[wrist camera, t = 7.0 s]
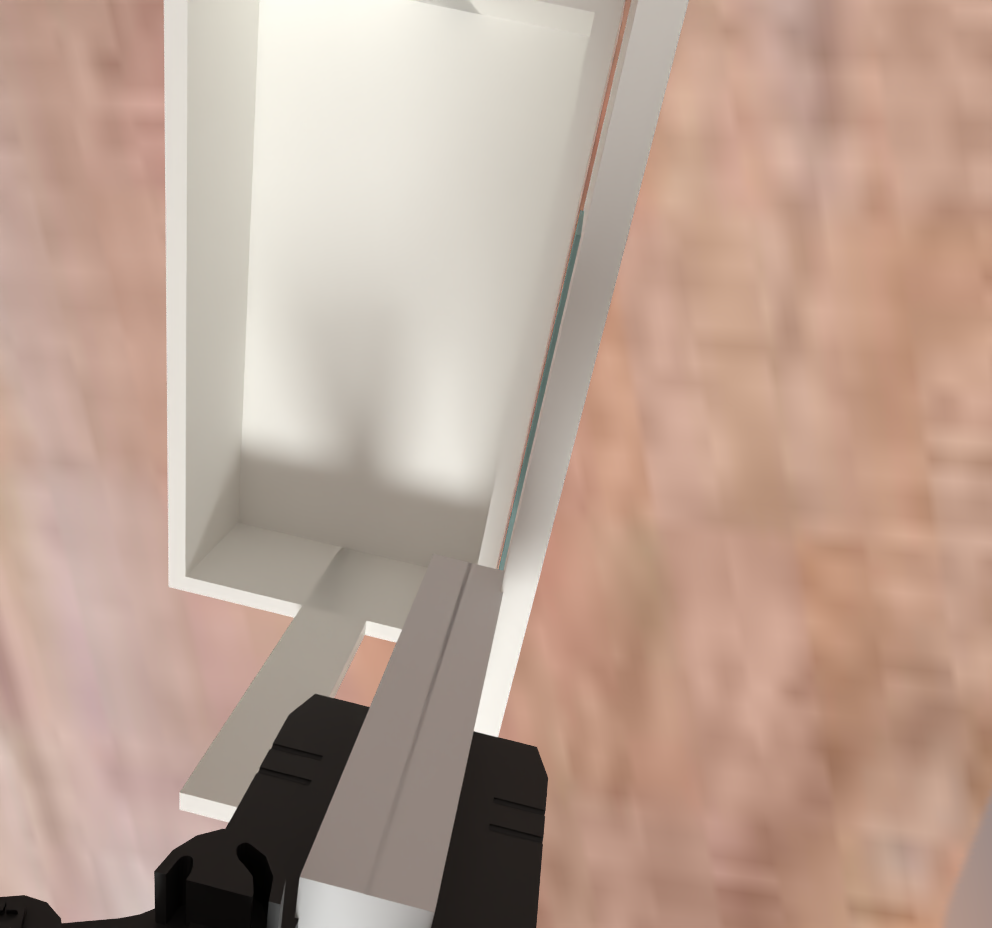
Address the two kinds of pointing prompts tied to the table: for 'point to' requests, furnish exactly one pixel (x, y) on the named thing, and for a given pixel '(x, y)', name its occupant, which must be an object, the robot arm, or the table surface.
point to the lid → (580, 327)
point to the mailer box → (358, 306)
